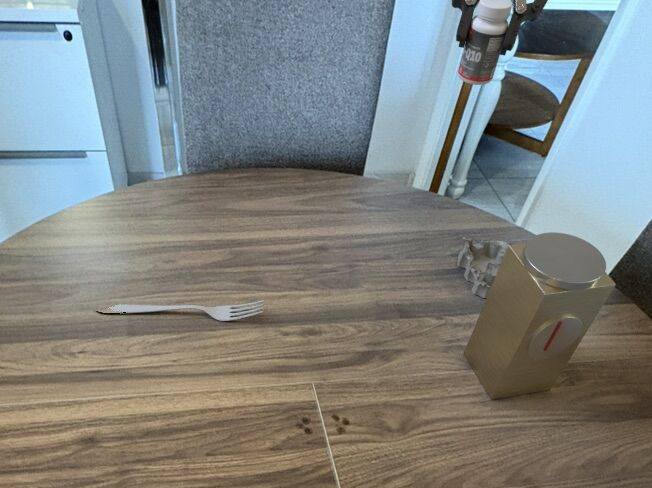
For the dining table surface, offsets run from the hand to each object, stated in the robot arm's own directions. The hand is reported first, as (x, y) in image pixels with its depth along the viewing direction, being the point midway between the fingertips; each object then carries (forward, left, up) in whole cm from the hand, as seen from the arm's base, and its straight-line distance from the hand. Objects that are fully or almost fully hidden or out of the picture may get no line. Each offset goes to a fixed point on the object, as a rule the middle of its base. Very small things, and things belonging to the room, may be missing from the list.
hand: (482, 47), depth 79 cm
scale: (+1, +31, -26) cm, 41 cm away
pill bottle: (-1, -2, -4) cm, 5 cm away
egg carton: (-5, +12, -27) cm, 30 cm away
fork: (+43, +11, -27) cm, 52 cm away
